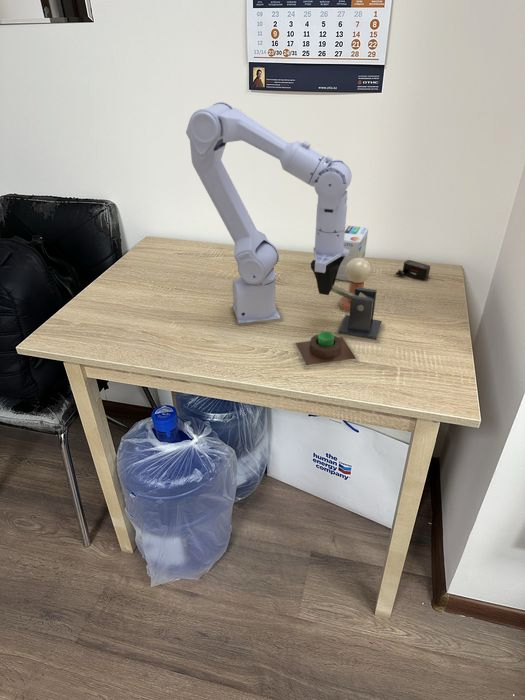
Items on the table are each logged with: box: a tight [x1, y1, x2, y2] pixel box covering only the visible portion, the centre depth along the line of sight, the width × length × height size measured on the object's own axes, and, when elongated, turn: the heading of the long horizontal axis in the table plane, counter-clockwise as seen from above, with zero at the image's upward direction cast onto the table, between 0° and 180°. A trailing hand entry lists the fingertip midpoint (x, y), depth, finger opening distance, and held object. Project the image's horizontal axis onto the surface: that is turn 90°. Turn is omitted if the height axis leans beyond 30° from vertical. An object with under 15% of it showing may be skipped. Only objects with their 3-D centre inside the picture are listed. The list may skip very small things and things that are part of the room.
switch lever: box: [330, 283, 372, 300], centre depth 108 cm, size 11×3×3 cm, turn 70°
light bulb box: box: [336, 224, 369, 282], centre depth 132 cm, size 11×7×11 cm, turn 159°
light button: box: [317, 331, 335, 347], centre depth 102 cm, size 3×3×2 cm
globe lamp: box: [340, 258, 372, 312], centre depth 116 cm, size 6×6×12 cm
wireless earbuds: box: [395, 259, 431, 281], centre depth 132 cm, size 5×7×3 cm, turn 50°
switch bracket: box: [337, 287, 383, 341], centre depth 109 cm, size 8×7×9 cm
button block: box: [295, 333, 357, 366], centre depth 103 cm, size 10×8×3 cm
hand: (326, 290), depth 109 cm, fingers closed on switch lever, 3 cm apart
